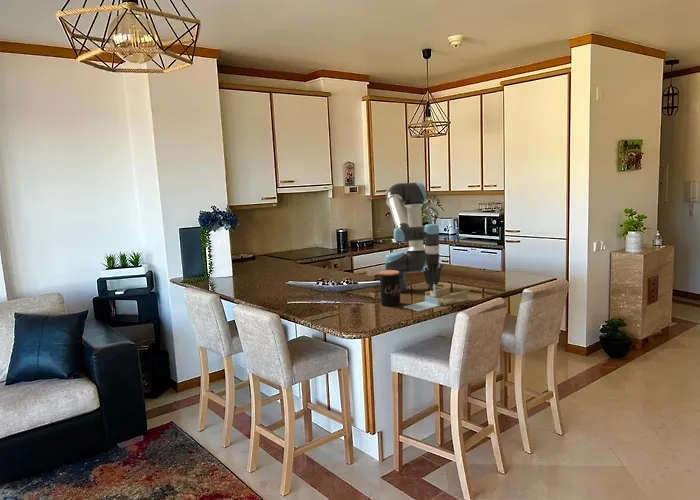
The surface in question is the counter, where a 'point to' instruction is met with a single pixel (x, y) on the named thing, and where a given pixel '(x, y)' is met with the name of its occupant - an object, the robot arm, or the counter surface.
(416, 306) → the cover plate
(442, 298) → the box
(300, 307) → the counter surface
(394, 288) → the coffee jar
